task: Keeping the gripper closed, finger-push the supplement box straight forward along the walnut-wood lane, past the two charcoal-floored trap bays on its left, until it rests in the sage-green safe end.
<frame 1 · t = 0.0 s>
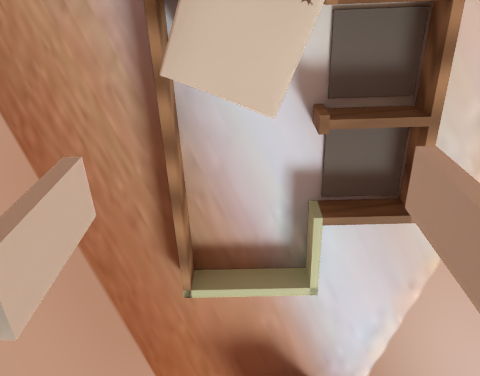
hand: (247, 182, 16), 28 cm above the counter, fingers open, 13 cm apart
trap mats: (368, 112, 43), resting in lane
lane: (245, 124, 44), on the counter
supplement box: (241, 16, 39), on the counter
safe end: (249, 250, 49), on the counter
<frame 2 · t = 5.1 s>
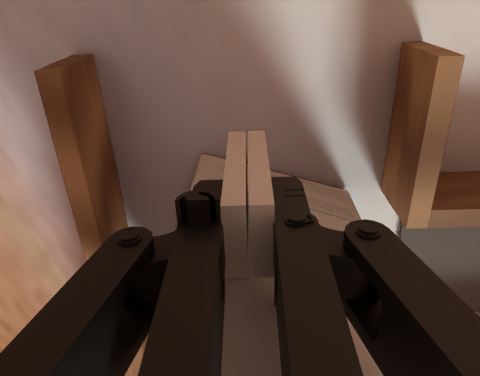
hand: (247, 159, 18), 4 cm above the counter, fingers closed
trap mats: (448, 328, 27), resting in lane
lane: (254, 339, 28), on the counter
supplement box: (253, 231, 24), on the counter, touching hand
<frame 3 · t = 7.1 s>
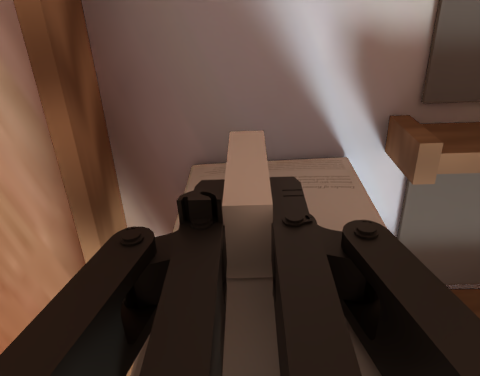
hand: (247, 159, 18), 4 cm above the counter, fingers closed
lane: (247, 155, 22), on the counter
supplement box: (269, 224, 24), on the counter, touching gripper
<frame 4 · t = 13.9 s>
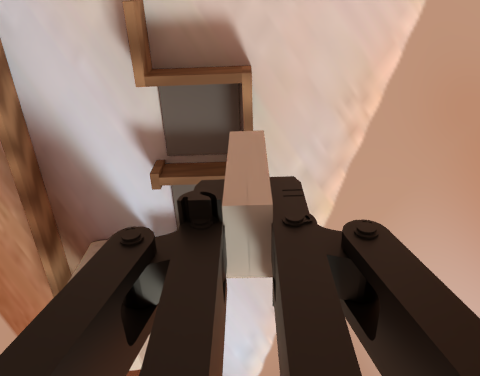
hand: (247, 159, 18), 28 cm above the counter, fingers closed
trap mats: (205, 166, 49), resting in lane
lane: (100, 176, 50), on the counter
supplement box: (130, 261, 56), on the counter
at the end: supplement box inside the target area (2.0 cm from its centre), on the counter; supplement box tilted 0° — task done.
